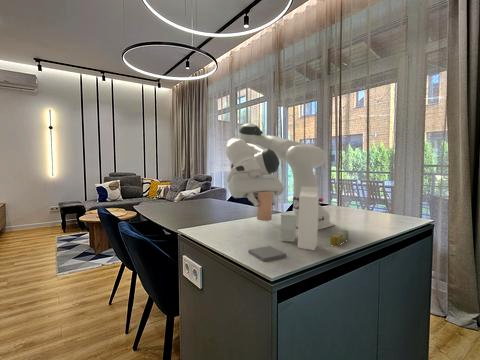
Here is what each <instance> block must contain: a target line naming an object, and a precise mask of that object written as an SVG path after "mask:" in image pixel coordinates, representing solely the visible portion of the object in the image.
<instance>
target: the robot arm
mask: <svg viewBox="0 0 480 360" xmlns="http://www.w3.org/2000/svg"><path fill="white" fill-rule="evenodd" d="M238 132H239V133H238V134H239V135H238V137H231V138H229V139H228V140H227V142H226V145H225V154H226V156H227V158H228V160H229V161H230V162H231V165H230V166H231V167H230V169H231V170H230V172H229V173H228V175H227V178H226V182H227V183H228V190H229V193H230V196H231V197H233V198H234V199H240V198H241V199H243V198H247V199H248V201H250V203H252V204H253V207H255V208H257V207H259V206H260V205H261V203H260V201H259V200H258V192H266V191H267V192H272V207H273V206H275V205H276V204H277V201H276V200H275V197H279V196H281V194H282V193H284V191H285V186H284V184H283V183H282V181H281V180H280V179H279V177H278V176H276V175H274V173H276V172H277V171H278V169H279V168H280V167H279V166H280V165H281V164H280V161H283V162H286V163H287V164H288V165H289V167H290V170H291V172H292V176H293V177H292V178H293V197H292V206H293V207H292V211H291V212H295V214H296V225H295V228H297V229H298V218H299V195H300V192H301V187H317V188H318V185H319V184H318V183H319V182H318V179H317V177H316V176H315V172H314V169H316V168H319V167H322V166H323V165H324V164H325V162H326V160H327V155H326V154H327V153H326V152H325V151H324V149H323V148H320V147H319V146H315V145H313V144H307V143H304V142H300V141H295V140H291V139H287V138H283V137H280V136H277V135H271V134H270V135H268V134H267V135H266V134H264V135H263V133H264V132H263V131H262V130H261V128H260V127H259V126H258V125H257V124H253V123H251V122H247V123H243V124H242V125H240V128H239V130H238ZM320 203H324V197H319V204H318V231H319V230H323V229H326V228H330V227H333V226H335V222H333V221H330V219H331V218H330V213H329V211H327V210H326V209H325V208H324V207H323V206H322V205H321V204H320Z"/></svg>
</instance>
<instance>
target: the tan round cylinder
mask: <svg viewBox="0 0 480 360" xmlns="http://www.w3.org/2000/svg"><path fill="white" fill-rule="evenodd" d="M257 200H259V201H260V203H261V205H260V206H259V207H256V210H257V211H256V219H257V221H264V222H266V221H267V222H269V221H272V219H273V217H272V216H273V206H272V192H267V191H266V192H258V197H257Z"/></svg>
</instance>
